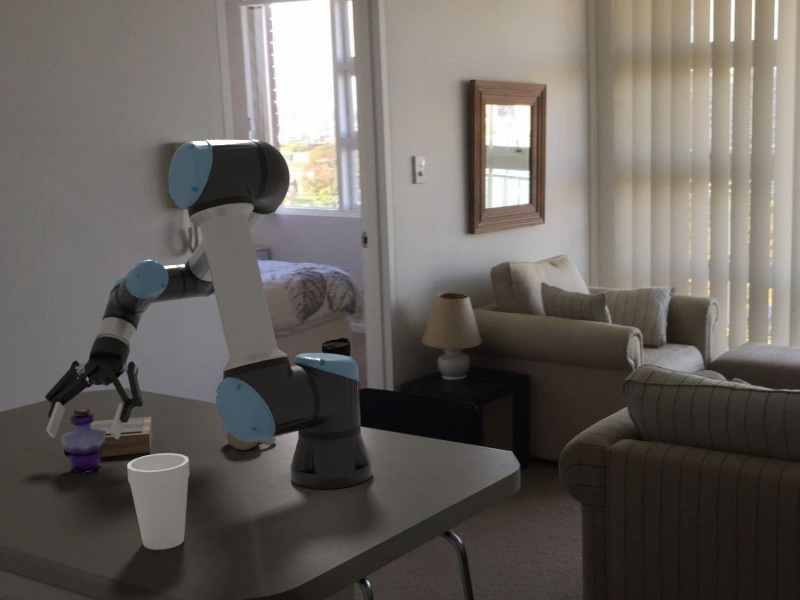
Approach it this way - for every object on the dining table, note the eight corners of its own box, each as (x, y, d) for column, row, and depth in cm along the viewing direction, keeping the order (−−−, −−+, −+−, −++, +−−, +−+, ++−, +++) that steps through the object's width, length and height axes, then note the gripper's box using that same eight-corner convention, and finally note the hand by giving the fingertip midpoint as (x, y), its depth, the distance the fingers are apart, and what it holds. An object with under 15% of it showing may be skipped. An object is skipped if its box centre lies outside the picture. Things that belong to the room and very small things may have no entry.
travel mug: (360, 428, 218) (357, 338, 215) (343, 436, 212) (339, 344, 209) (337, 425, 221) (333, 336, 218) (319, 432, 216) (315, 341, 213)
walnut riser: (150, 452, 205) (148, 432, 204) (79, 458, 202) (77, 438, 202) (152, 434, 219) (151, 415, 218) (86, 439, 216) (84, 420, 215)
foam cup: (198, 529, 162) (193, 452, 160) (188, 552, 153) (183, 470, 151) (140, 532, 162) (134, 454, 160) (126, 554, 153) (120, 473, 151)
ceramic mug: (227, 454, 203) (226, 417, 201) (222, 443, 210) (220, 407, 209) (279, 448, 206) (278, 412, 205) (272, 438, 213) (270, 403, 212)
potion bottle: (62, 465, 199) (57, 406, 197) (107, 459, 201) (102, 401, 200) (63, 478, 191) (58, 417, 189) (110, 471, 193) (106, 411, 192)
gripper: (174, 355, 208) (148, 445, 196) (65, 353, 213) (33, 442, 201) (162, 334, 202) (134, 427, 190) (50, 334, 207) (15, 424, 195)
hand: (82, 435), depth 196 cm, fingers open, 13 cm apart
